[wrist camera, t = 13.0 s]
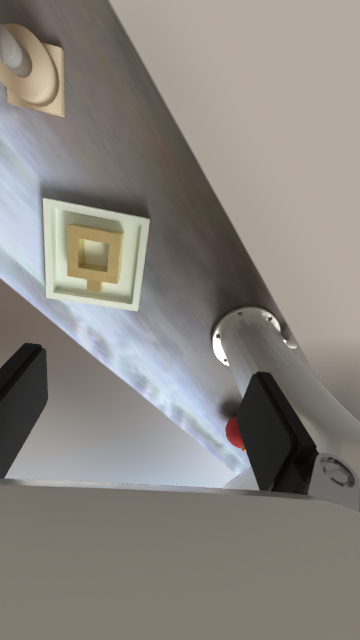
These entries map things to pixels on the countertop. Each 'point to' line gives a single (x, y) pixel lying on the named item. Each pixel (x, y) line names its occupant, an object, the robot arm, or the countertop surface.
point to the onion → (234, 434)
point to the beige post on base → (31, 71)
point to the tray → (94, 254)
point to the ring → (90, 271)
